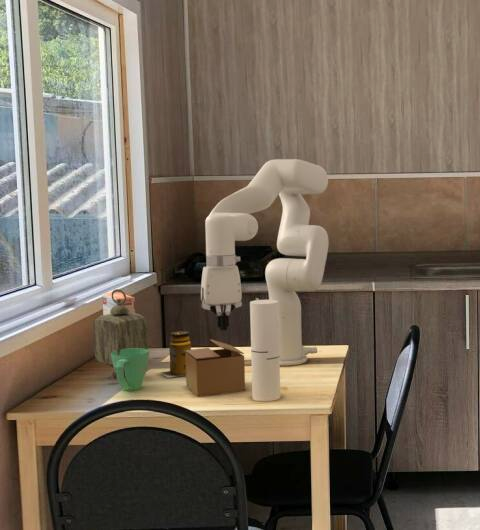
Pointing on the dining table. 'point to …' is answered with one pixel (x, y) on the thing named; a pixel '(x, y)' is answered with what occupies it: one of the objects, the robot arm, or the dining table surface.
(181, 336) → the condiment
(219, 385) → the carton
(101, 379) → the dining table surface
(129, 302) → the cracker box
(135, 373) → the mug
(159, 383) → the dining table surface
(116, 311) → the tabletop clock
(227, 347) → the flap
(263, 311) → the cylindrical container
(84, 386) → the dining table surface
